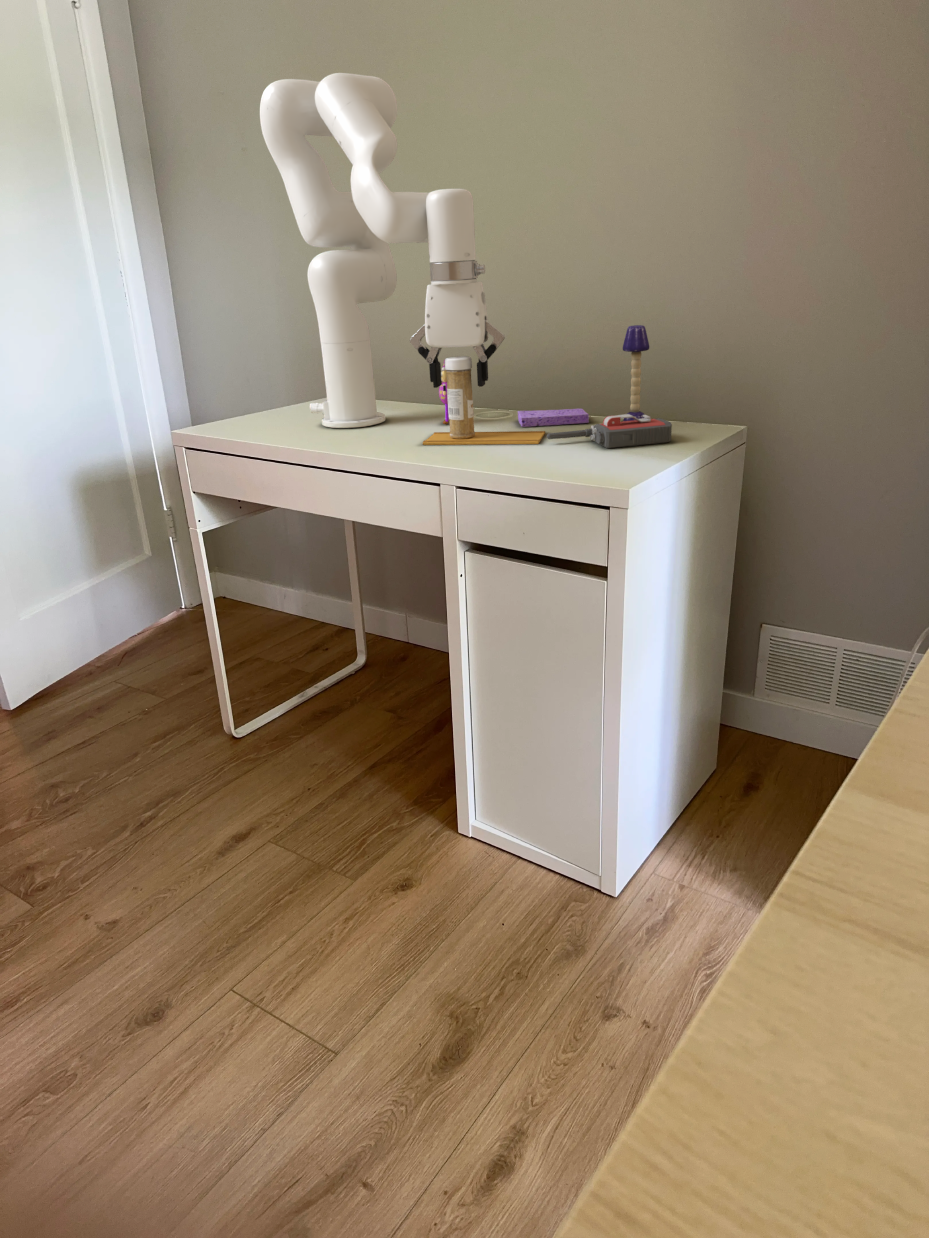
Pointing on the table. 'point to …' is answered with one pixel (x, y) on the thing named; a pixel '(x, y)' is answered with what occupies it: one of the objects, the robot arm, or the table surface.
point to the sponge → (552, 417)
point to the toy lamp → (635, 365)
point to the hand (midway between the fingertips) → (459, 385)
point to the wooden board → (487, 438)
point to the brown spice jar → (460, 397)
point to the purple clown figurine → (444, 393)
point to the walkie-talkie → (623, 432)
